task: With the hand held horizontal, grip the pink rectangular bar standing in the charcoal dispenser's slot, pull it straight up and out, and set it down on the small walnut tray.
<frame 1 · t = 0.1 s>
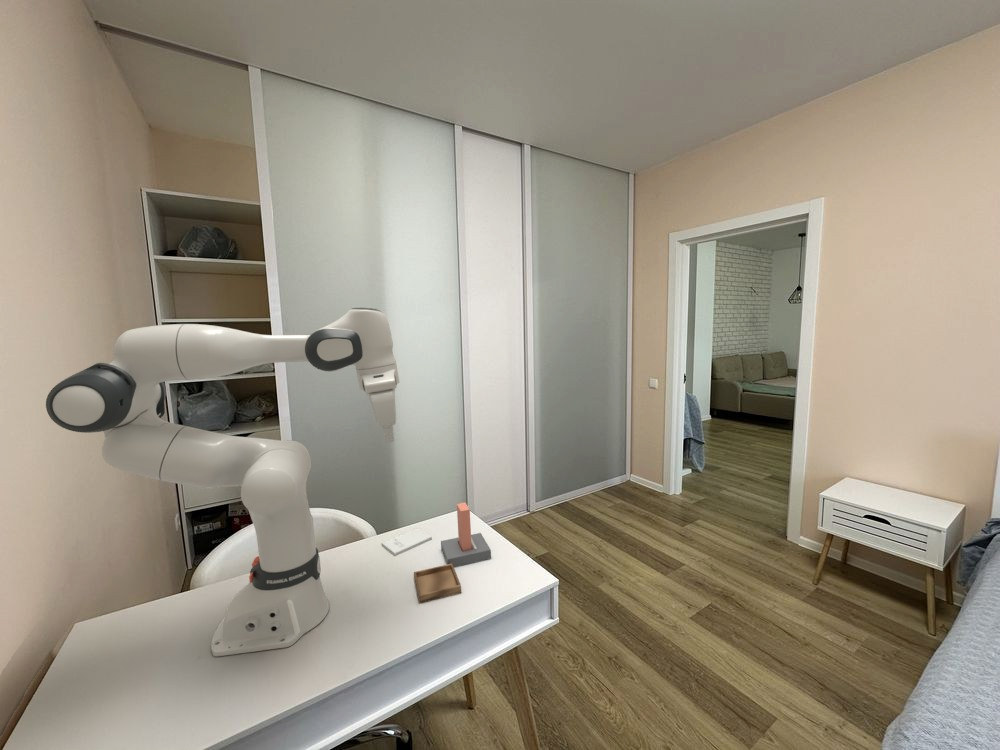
hand: (388, 436, 93), 39 cm above the table, tool pointing down, fingers open, 8 cm apart
pink rectangular bar: (464, 530, 112), in the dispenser
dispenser: (465, 554, 113), on the table
external hard drive: (407, 544, 120), on the table
tray: (437, 585, 99), on the table
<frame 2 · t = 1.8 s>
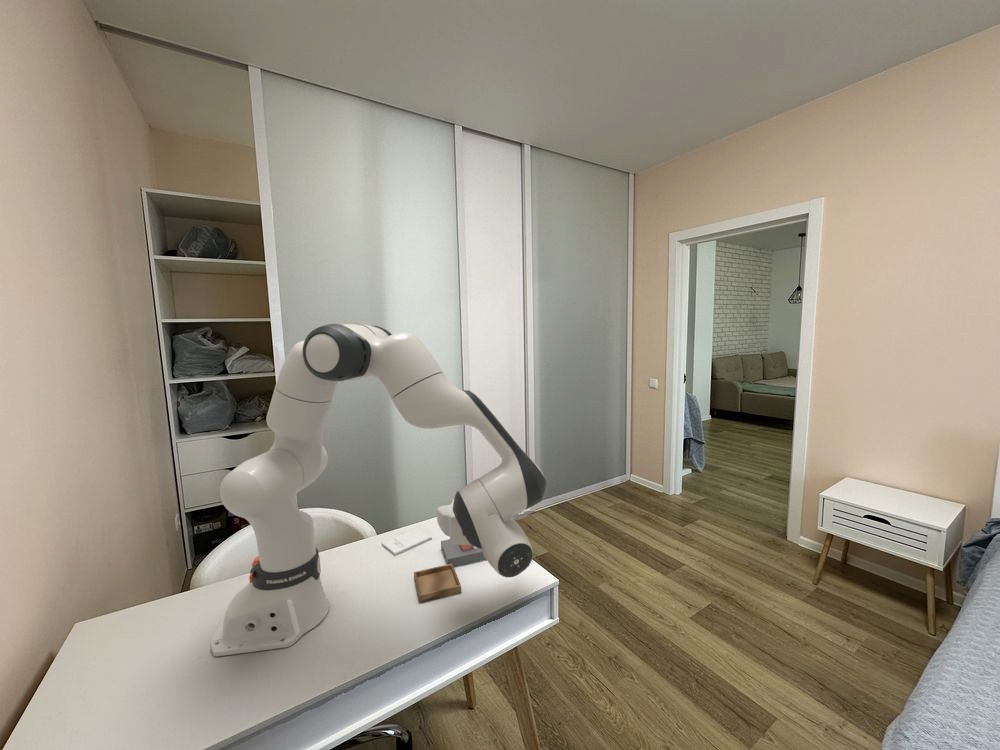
hand: (473, 498, 99), 21 cm above the table, tool horizontal, fingers open, 8 cm apart
nothing on the table moved.
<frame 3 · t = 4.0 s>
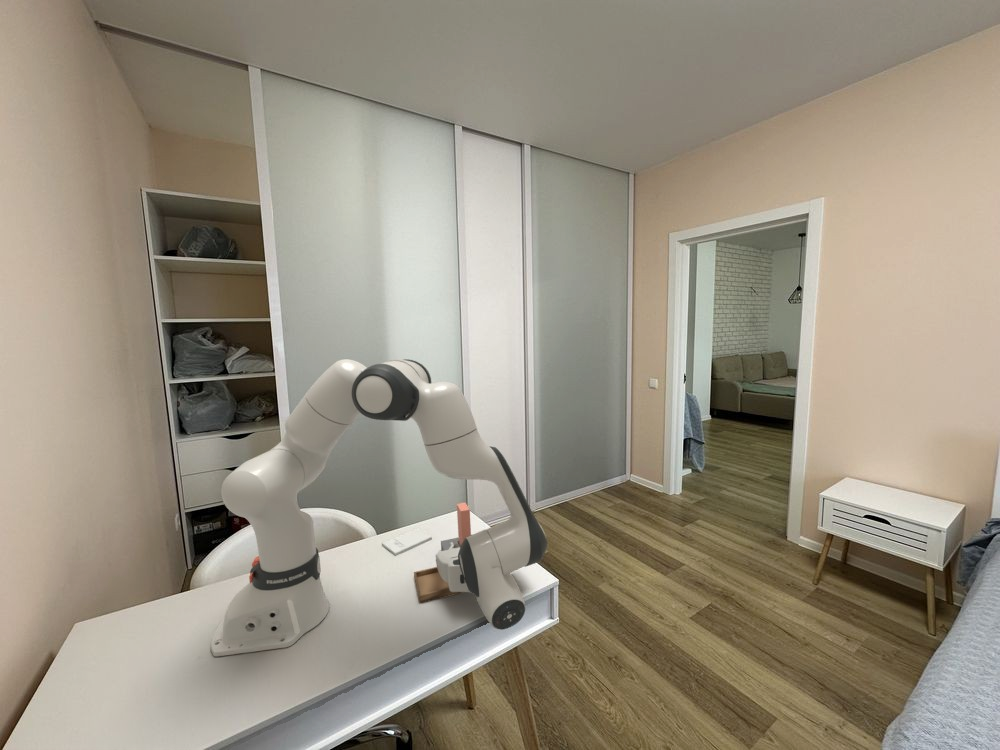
hand: (470, 540, 105), 8 cm above the table, tool horizontal, fingers open, 8 cm apart
nothing on the table moved.
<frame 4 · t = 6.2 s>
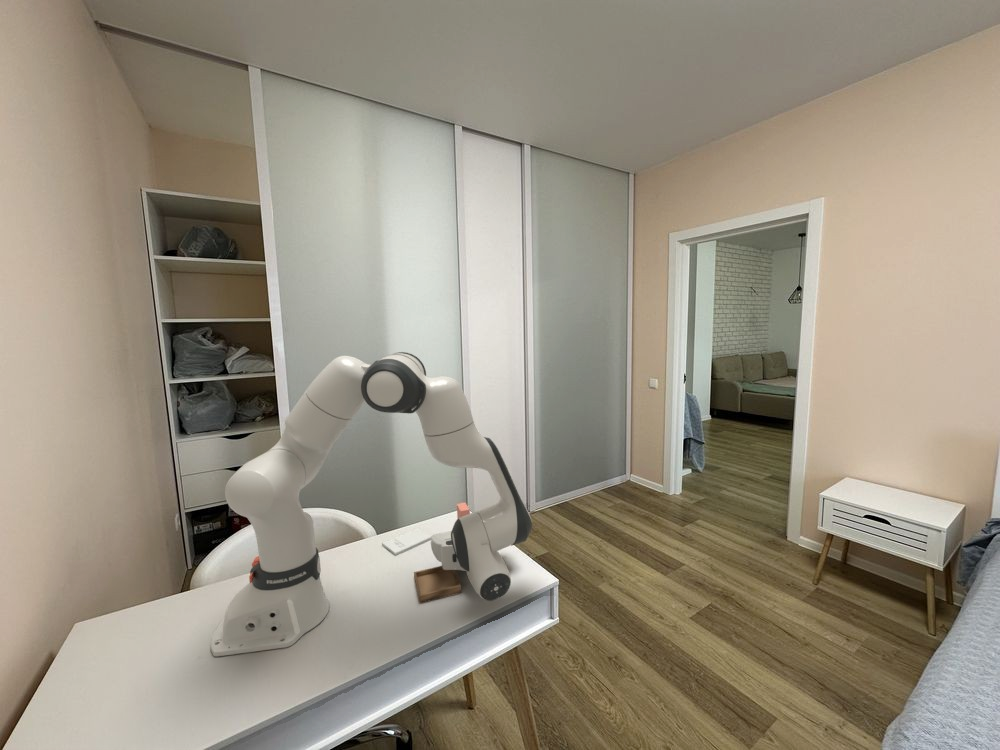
hand: (463, 525, 113), 8 cm above the table, tool horizontal, fingers closed on pink rectangular bar, 2 cm apart
pink rectangular bar: (464, 530, 112), in the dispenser, touching gripper
everything else where it was.
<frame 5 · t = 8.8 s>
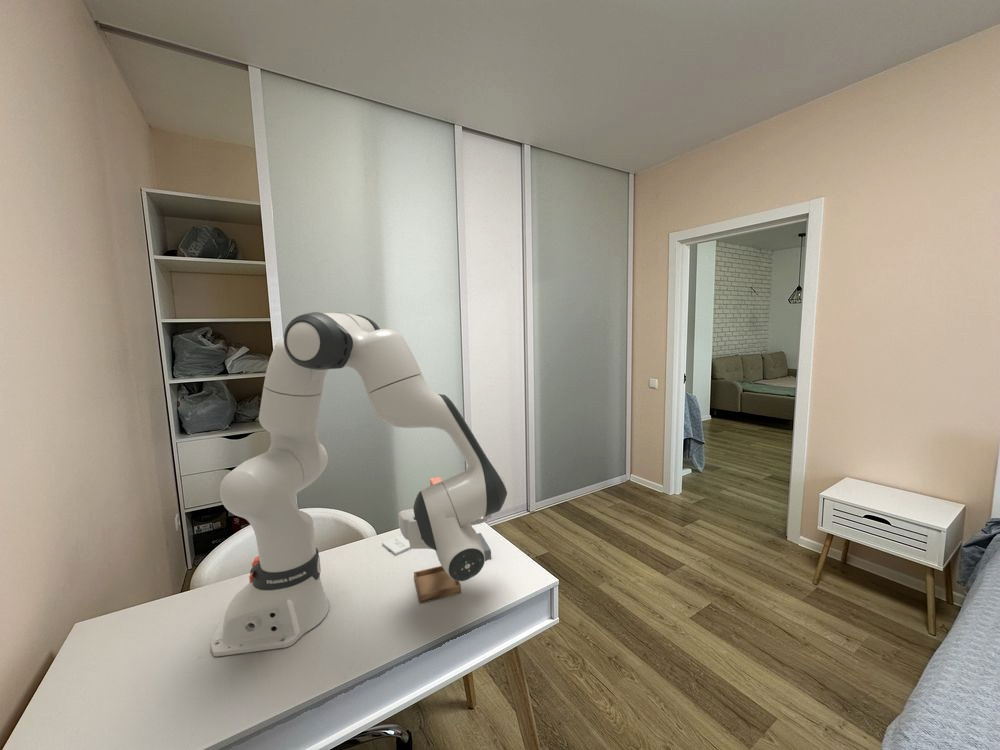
hand: (437, 502, 101), 20 cm above the table, tool horizontal, fingers closed on pink rectangular bar, 2 cm apart
pink rectangular bar: (438, 507, 100), point 19 cm above the table, touching gripper
everything else where it was.
when the fingers open (10 cm above the table, at t = 11.3 s): pink rectangular bar stays where it is, resting on tray.
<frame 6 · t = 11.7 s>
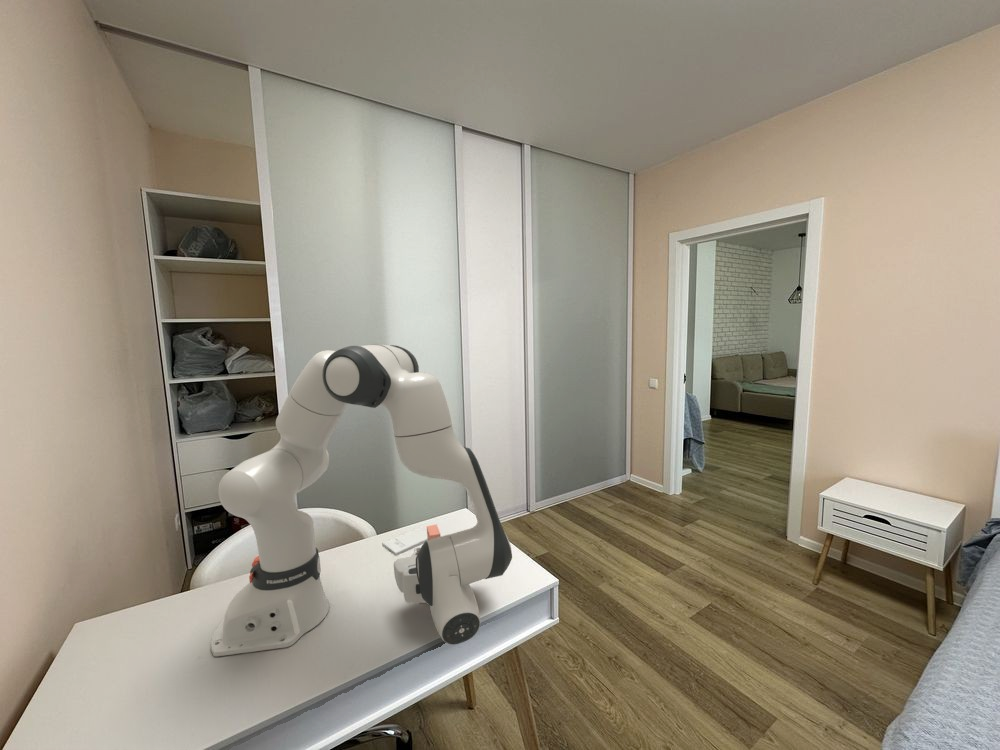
hand: (434, 547, 99), 10 cm above the table, tool horizontal, fingers open, 7 cm apart
pink rectangular bar: (435, 556, 98), in the tray, point 8 cm above the table
everything else where it was.
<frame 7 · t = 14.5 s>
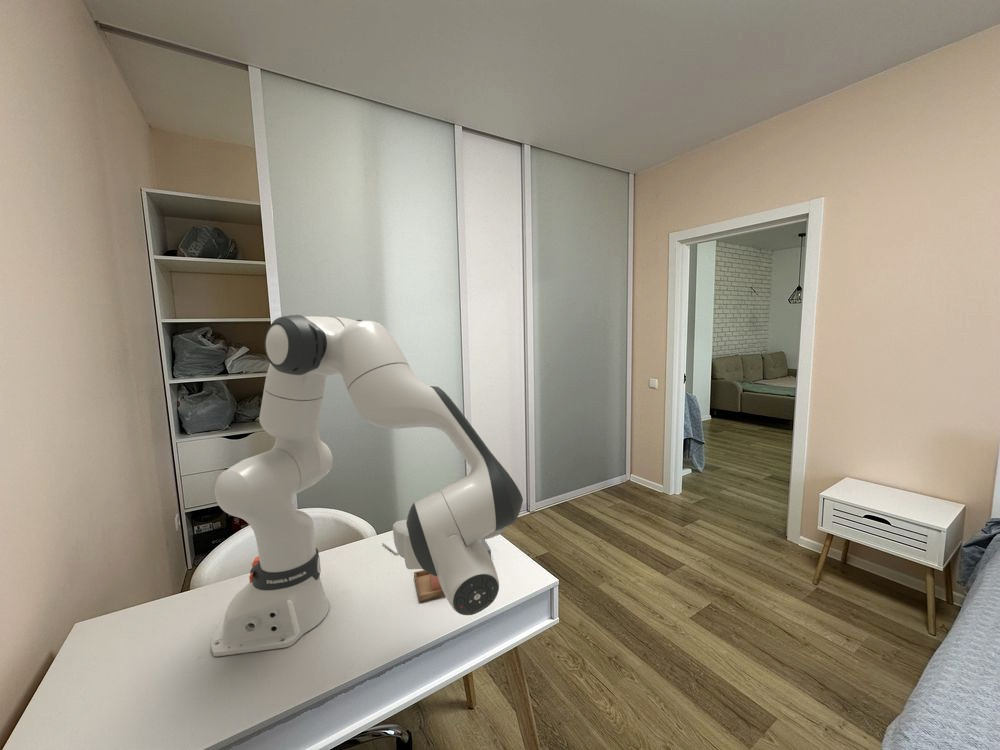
hand: (439, 510, 85), 25 cm above the table, tool horizontal, fingers open, 8 cm apart
nothing on the table moved.
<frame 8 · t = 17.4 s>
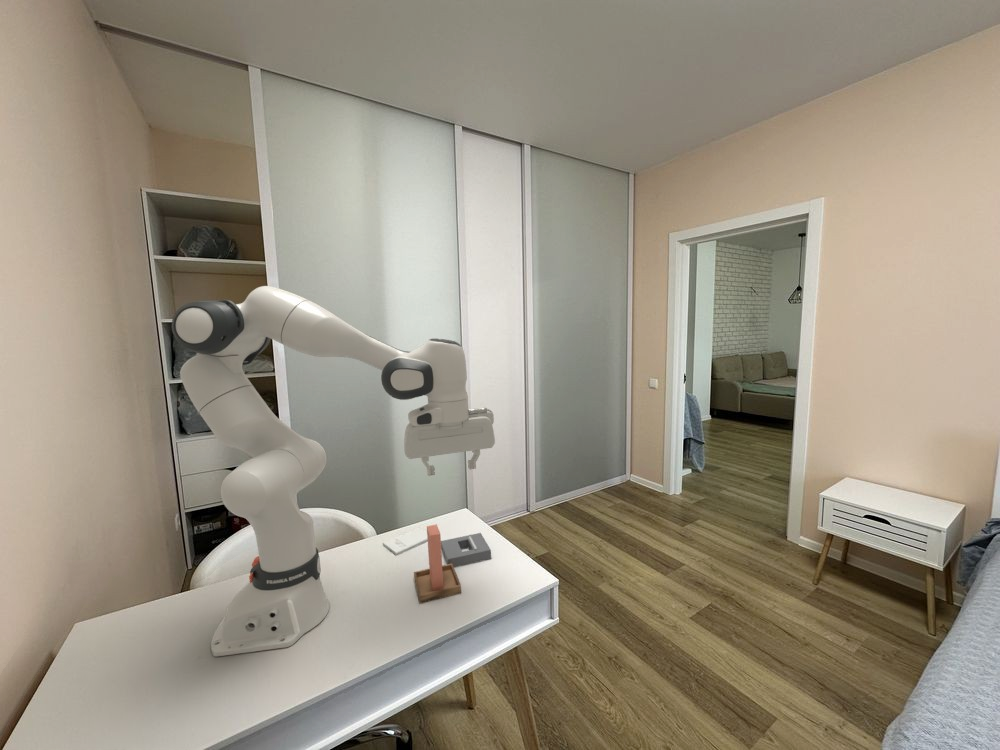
hand: (451, 471, 91), 31 cm above the table, tool pointing down, fingers open, 8 cm apart
nothing on the table moved.
at the end: pink rectangular bar inside the target area on the tray (0.1 cm from its centre), point 7.6 cm above the tray's base; pink rectangular bar touching tray; the gripper is holding nothing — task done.
